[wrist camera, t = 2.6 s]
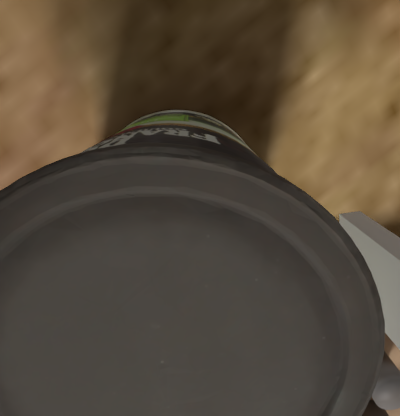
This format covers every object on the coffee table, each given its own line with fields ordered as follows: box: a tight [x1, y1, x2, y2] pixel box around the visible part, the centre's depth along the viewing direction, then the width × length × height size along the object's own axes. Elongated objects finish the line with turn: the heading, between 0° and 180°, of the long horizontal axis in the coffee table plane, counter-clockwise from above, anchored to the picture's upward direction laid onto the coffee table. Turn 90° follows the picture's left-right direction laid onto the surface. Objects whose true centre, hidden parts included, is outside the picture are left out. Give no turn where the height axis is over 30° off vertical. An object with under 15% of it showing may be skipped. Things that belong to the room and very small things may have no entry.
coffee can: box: [0, 110, 385, 416], centre depth 14 cm, size 10×10×14 cm
